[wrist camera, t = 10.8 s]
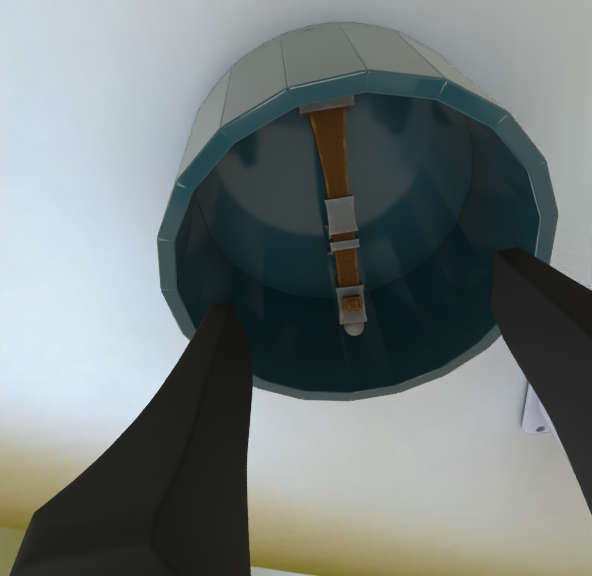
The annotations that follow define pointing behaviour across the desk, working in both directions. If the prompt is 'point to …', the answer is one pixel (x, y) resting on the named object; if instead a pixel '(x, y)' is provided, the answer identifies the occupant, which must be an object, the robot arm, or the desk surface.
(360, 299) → the wooden post with brackets
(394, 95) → the teal round bowl
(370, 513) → the desk surface
